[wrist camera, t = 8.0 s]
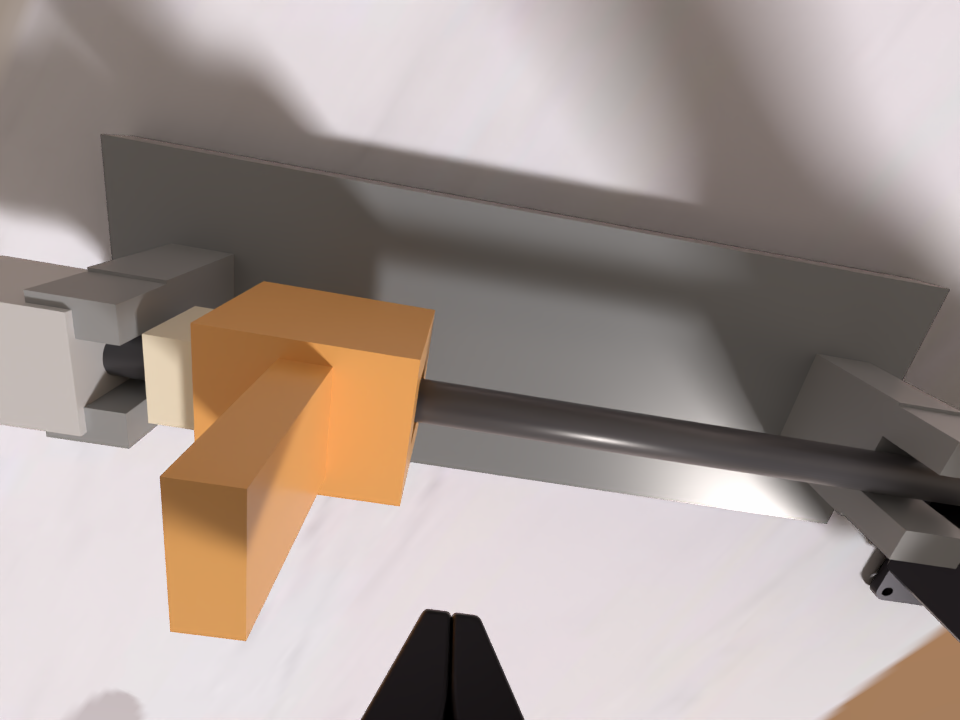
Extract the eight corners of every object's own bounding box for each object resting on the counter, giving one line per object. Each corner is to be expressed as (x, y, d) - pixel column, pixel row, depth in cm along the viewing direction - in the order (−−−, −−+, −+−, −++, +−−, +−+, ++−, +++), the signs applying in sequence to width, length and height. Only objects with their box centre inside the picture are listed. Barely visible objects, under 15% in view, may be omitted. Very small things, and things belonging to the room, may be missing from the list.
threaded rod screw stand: (915, 279, 19) (1178, 353, 12) (804, 501, 22) (955, 659, 15) (100, 130, 17) (-172, 110, 10) (125, 397, 21) (-61, 524, 13)
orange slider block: (435, 309, 15) (385, 479, 7) (417, 427, 16) (359, 676, 9) (263, 281, 15) (12, 425, 7) (261, 403, 16) (52, 638, 8)
